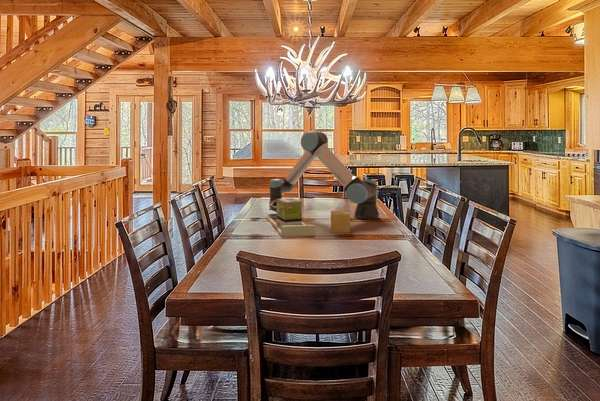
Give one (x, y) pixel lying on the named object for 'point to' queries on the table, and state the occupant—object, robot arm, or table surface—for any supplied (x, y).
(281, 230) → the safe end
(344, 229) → the cheese
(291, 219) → the tea box
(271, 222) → the track rails
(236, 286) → the table surface
